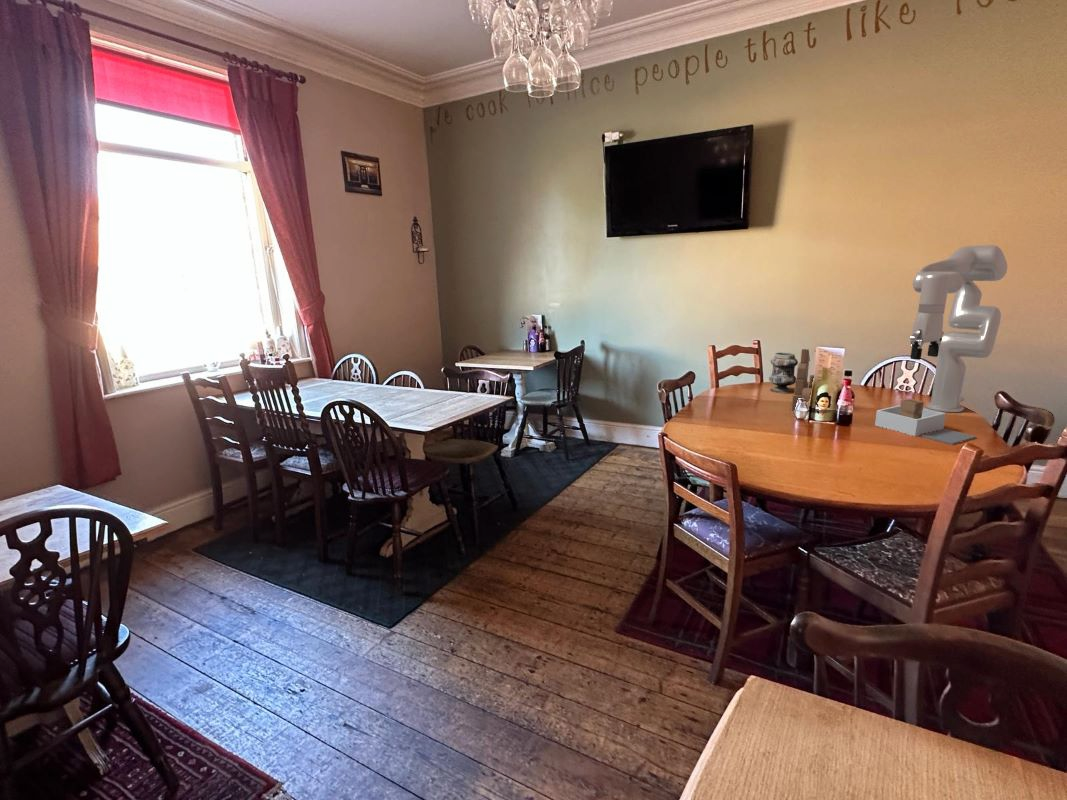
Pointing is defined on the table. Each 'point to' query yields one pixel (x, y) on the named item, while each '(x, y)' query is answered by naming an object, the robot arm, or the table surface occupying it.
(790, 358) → the apothecary jar
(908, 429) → the box
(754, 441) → the table surface
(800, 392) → the wooden toy
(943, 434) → the slate mat
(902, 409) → the walnut block
